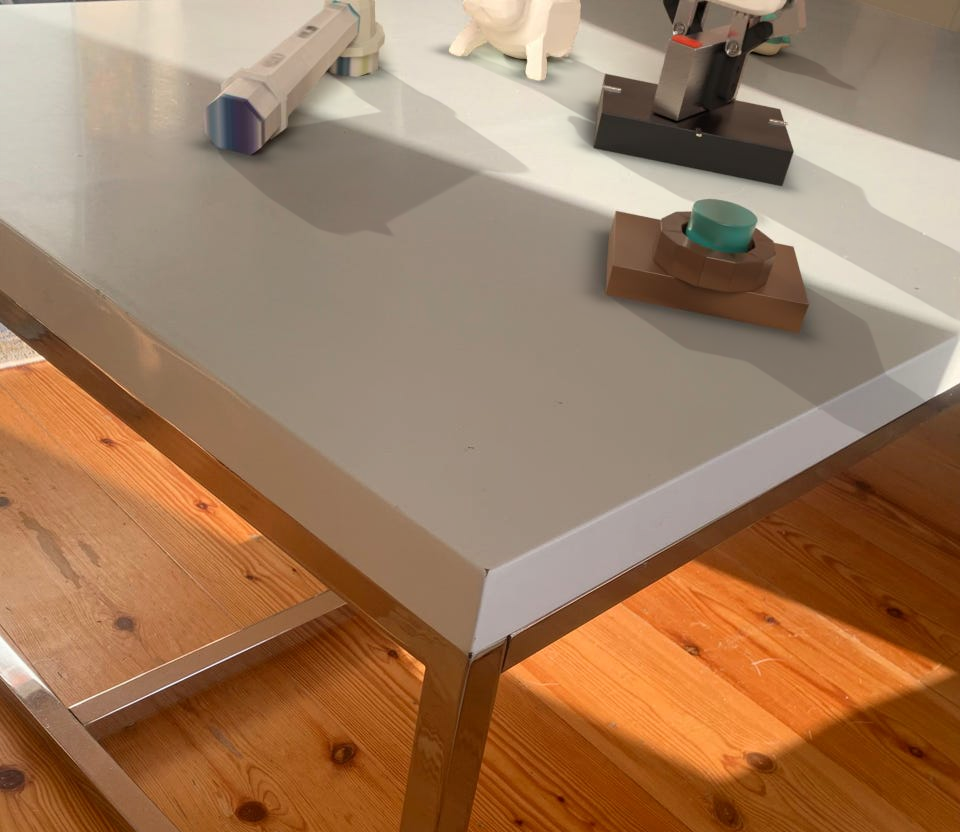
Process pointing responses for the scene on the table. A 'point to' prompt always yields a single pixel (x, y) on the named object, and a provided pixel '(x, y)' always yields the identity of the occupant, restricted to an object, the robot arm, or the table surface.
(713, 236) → the button
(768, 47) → the turtle figurine
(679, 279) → the button block
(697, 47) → the red-tipped steel block
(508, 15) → the pig figurine
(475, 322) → the table surface
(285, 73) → the white flashlight
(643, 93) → the lever base
